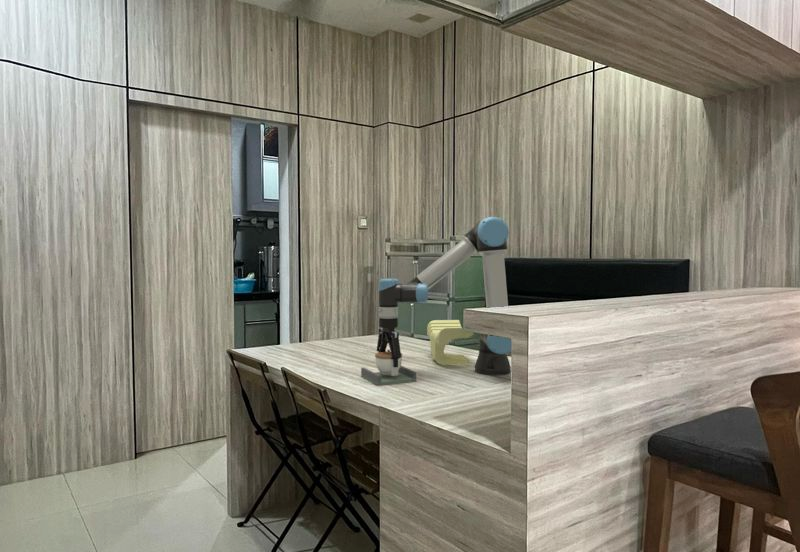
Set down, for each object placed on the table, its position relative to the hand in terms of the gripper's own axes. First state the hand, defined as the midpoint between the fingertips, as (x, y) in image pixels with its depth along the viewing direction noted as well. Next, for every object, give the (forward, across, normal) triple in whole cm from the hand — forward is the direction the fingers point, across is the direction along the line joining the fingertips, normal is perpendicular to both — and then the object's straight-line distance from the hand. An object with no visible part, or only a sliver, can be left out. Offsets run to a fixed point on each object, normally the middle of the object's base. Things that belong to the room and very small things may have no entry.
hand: (388, 372), depth 213 cm
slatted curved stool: (+3, -20, +41) cm, 46 cm away
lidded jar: (0, 0, 0) cm, 1 cm away
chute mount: (+3, 0, 0) cm, 3 cm away
